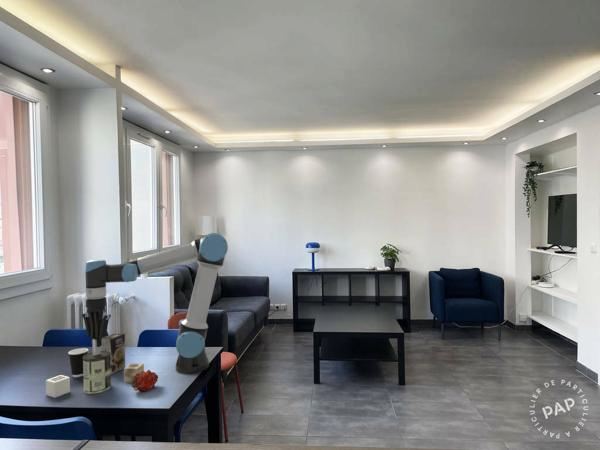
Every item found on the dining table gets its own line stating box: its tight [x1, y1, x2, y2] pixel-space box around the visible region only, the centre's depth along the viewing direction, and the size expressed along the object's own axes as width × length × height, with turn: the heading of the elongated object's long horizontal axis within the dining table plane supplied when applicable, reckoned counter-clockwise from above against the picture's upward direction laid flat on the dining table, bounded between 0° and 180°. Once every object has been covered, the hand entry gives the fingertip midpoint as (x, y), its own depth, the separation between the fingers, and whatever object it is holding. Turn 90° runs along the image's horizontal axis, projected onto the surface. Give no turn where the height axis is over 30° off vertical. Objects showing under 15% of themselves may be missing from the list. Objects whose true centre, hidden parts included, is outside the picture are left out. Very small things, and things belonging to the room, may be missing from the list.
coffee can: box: [83, 351, 112, 395], centre depth 158 cm, size 10×10×14 cm
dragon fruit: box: [131, 369, 159, 393], centre depth 157 cm, size 8×8×12 cm
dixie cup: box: [68, 347, 89, 378], centre depth 173 cm, size 8×8×11 cm
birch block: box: [123, 362, 145, 383], centre depth 167 cm, size 6×6×6 cm
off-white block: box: [45, 374, 71, 399], centre depth 154 cm, size 6×6×6 cm
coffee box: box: [101, 333, 126, 375], centre depth 178 cm, size 9×6×16 cm
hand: (96, 354), depth 158 cm, fingers closed
